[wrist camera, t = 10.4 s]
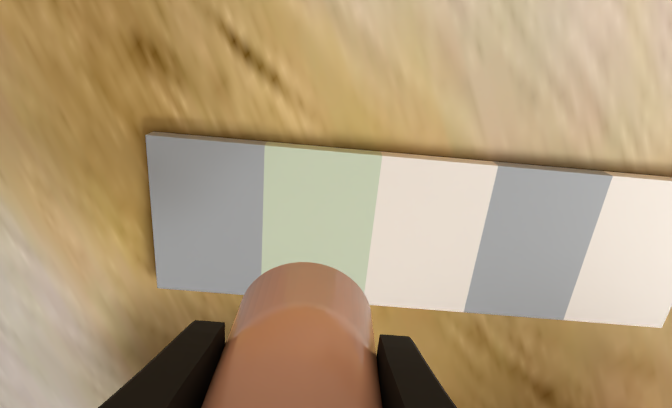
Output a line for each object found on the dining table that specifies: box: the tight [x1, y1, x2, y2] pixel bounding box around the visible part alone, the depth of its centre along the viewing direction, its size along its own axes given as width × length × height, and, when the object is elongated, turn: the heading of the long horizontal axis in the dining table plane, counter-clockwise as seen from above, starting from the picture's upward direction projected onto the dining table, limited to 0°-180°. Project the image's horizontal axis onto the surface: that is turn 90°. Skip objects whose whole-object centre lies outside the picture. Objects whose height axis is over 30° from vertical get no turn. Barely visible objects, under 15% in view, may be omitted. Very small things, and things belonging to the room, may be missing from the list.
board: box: [145, 132, 672, 328], centre depth 15 cm, size 20×6×1 cm, turn 85°
